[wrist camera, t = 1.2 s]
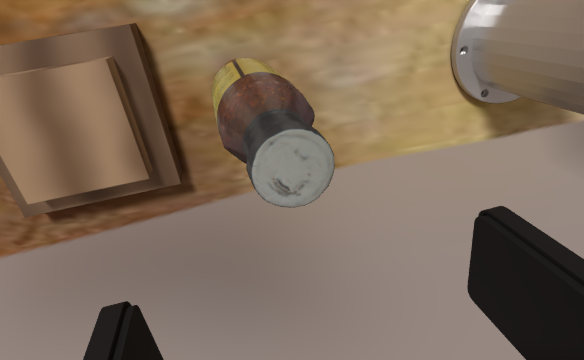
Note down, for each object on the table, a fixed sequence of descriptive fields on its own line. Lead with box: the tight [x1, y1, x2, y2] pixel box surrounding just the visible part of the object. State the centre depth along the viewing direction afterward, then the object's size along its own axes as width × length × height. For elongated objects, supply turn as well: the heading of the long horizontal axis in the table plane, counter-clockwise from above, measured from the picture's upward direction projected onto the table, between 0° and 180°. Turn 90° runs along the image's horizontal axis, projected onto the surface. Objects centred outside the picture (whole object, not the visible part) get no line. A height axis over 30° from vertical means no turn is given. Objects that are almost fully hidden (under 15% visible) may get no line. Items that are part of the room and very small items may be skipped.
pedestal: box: [0, 23, 183, 217], centre depth 30 cm, size 14×14×4 cm
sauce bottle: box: [212, 58, 335, 207], centre depth 25 cm, size 6×6×20 cm
